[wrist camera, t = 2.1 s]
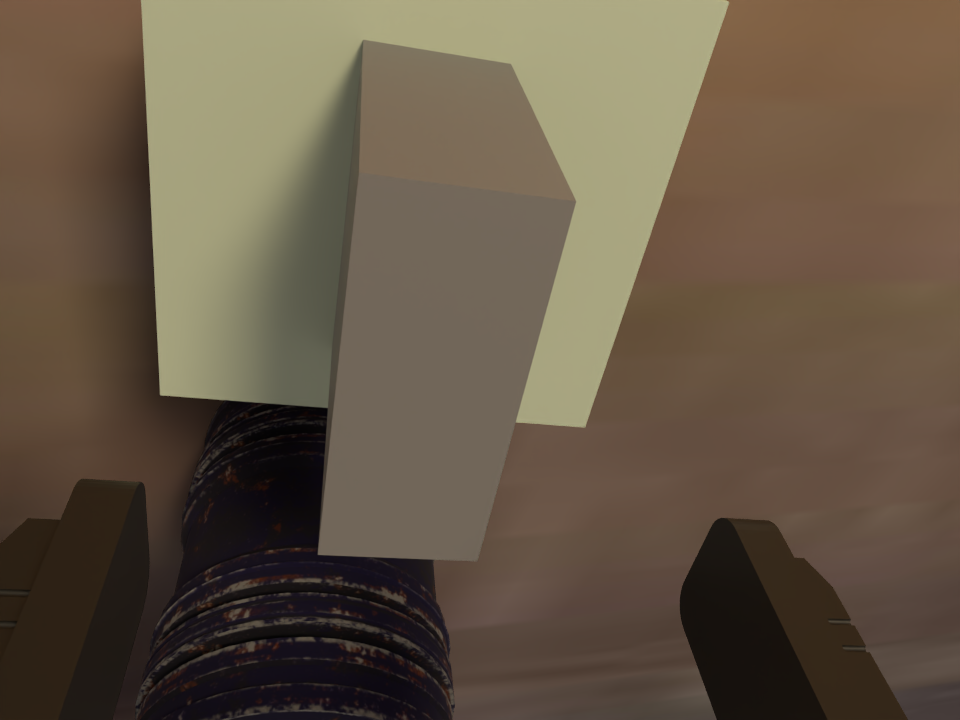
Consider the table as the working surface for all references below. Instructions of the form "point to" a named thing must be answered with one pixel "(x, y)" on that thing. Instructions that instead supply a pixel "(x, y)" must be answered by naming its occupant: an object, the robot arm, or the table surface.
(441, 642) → the dark blue cylinder
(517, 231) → the lid
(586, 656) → the table surface
